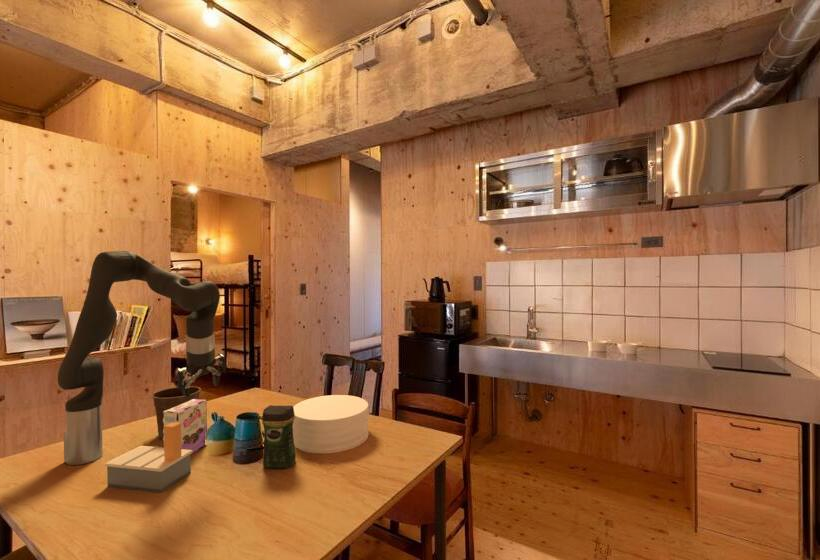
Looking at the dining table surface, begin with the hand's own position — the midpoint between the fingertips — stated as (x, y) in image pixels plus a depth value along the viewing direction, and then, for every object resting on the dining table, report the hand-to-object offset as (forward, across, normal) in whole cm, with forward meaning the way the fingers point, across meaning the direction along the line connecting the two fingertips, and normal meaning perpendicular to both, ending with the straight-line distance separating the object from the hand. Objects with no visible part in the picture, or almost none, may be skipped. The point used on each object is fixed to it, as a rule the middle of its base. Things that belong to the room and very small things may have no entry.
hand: (201, 390), depth 120 cm
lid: (+18, +15, 0) cm, 23 cm away
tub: (+23, +16, +2) cm, 28 cm away
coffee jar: (+20, -12, +25) cm, 34 cm away
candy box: (+30, +2, -7) cm, 30 cm away
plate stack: (+25, -36, +23) cm, 50 cm away
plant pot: (+38, -2, -26) cm, 46 cm away
